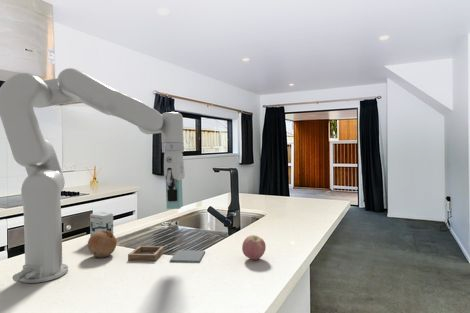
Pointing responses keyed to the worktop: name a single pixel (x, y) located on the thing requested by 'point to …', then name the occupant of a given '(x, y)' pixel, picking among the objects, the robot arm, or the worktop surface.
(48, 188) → the robot arm
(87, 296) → the worktop surface
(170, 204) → the part
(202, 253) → the mat
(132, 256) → the pocket frame
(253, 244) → the apple
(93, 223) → the ink box
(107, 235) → the onion
